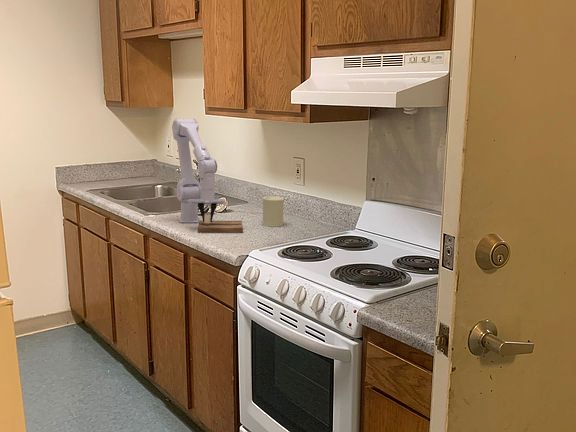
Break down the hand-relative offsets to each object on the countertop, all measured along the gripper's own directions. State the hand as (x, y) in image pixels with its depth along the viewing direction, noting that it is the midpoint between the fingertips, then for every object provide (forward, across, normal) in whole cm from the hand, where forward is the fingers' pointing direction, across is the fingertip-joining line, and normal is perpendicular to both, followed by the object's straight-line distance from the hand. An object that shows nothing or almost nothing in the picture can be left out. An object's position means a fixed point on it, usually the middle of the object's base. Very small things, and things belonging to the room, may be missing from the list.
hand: (207, 221), depth 246 cm
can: (+3, +28, +9) cm, 30 cm away
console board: (+3, +5, 0) cm, 6 cm away
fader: (+1, 0, 0) cm, 1 cm away
